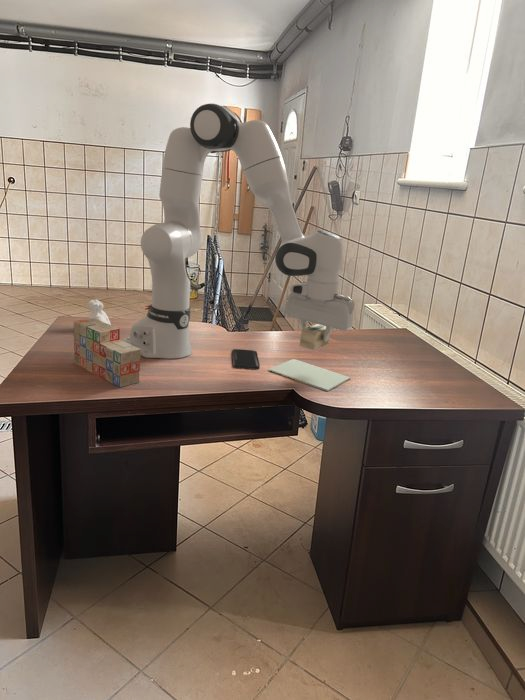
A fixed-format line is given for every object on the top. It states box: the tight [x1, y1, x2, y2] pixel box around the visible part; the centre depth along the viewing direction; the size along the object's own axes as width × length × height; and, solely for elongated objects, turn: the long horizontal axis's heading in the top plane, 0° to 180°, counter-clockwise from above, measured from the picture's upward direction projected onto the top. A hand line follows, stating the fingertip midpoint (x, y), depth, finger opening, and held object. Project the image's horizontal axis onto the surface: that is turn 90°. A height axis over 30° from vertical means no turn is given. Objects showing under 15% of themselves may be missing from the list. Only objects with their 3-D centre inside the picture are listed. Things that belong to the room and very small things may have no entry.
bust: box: [86, 298, 112, 326], centre depth 170 cm, size 12×8×11 cm
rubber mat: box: [267, 358, 351, 392], centre depth 152 cm, size 20×14×1 cm
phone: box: [231, 348, 261, 370], centre depth 158 cm, size 8×1×15 cm
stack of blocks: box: [73, 318, 142, 388], centre depth 136 cm, size 21×6×12 cm, turn 50°
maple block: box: [299, 323, 331, 351], centre depth 148 cm, size 9×4×5 cm, turn 145°
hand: (315, 337), depth 148 cm, fingers closed on maple block, 4 cm apart
